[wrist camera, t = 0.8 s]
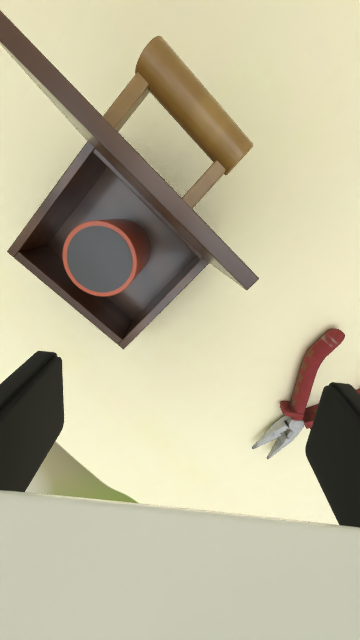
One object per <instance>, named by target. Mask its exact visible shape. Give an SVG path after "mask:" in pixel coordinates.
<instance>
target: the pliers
mask: <svg viewBox="0 0 360 640" xmlns="http://www.w3.org/2000/svg"><path fill="white" fill-rule="evenodd" d="M344 338H345V334H344V333H343V332H342V331H341V330H339V329H331V330H329V331H327V332H326V333H325V334H324V335H323V336H322V337H321V338H320V339H319V340H318V341H317V342H316V343H315V344H314V345H313V346H311V347H310V349H309V350H308V352H307V353H306V355H305V357H304V360H303V362H302V365H301V368H300V371H299V375H298V378H297V382H296V385H295V389H294V392H293V396H292V400H291V402H289V401H282V402H281V404H280V408H281V410H282V412H283V414H284V415H285V416H283V417H282V418H281V419H279V420H278V421H277V422H275V423H274V424H273V425H272V426H271V427H270V428H269V429H268V430H267V431H266V432H265V434H264V435H263V436H262V437H261V438H260V439H259V440H258V441H257V442H256V443H255V444H254V445H253V447H252V449H255V448H257V447H259V446H261V445H263V444H266V443H268V442H270V441H272V440H274V439H276V438H277V437H278V439H277V441H276V442H275V444H274V446H273V447H272V449H271V451H270V453H269V454H268V456H267V459H269V458H271V457H272V456H273V455H274V454H276V453H277V452H278V451H280V450H281V449H282V448H284V447H285V446H286V445H288V444H289V443H290V442H291V441H292V440H293V439H294V438H295V437H296V436H297V435H298V434H299V432H300V431H301V430H302V428H303V427H304V425H305V427H306V428H307V429H308V428H310V429H311V428H312V424H313V421H314V418H315V415H316V411H317V408H318V405H319V404H318V405H316V406H313V407H310V408H307V409H306V405H307V402H308V399H309V396H310V392H311V389H312V386H313V383H314V379H315V376H316V373H317V370H318V368H319V366H320V364H321V363H322V361H323V360H324V359H325V357H326V356H327V355H329V354H330V353H331V352H332V351H333V350H334V349H335V348H336V347H337V346H338V345H339V344H340V343H341V342H342V341H343V340H344ZM357 392H358V393H359V394H360V389H359V390H357ZM287 429H289V430H287ZM285 430H286V431H285Z"/></svg>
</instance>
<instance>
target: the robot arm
mask: <svg viewBox="0 0 360 640" xmlns="http://www.w3.org/2000/svg"><path fill="white" fill-rule="evenodd" d="M63 424H64V404H63V377H62V359H61V358H60V357H57V354H56V353H54V352H45V351H37V352H36V353H35V354H34V355H33V356H31V357H30V358H29V359H28V360H27V361H26V362H25V363H24V364H22V365H21V366H20V367H19V368H18V369H17V370H16V371H15V372H13V373H12V374H11V375H10V376H9V377H8V378H7V379H6V380H4V381H3V382H2V383H1V384H0V640H360V394H359V393H358V392H357V391H356V390H355V389H354V388H353V387H352V386H351V385H350V384H343V383H334V382H332V383H330V384H329V386H325V387H324V389H323V392H322V395H321V398H320V402H319V405H318V408H317V411H316V415H315V418H314V421H313V424H312V428H311V431H310V434H309V437H308V441H307V444H306V456H307V459H308V461H309V463H310V465H311V467H312V469H313V471H314V473H315V475H316V477H317V479H318V481H319V484H320V486H321V488H322V490H323V492H324V494H325V496H326V498H327V500H328V502H329V504H330V506H331V509H332V511H333V513H334V515H335V517H336V519H337V521H338V523H339V525H333V524H324V523H315V522H306V521H297V520H288V519H280V518H271V517H262V516H252V515H243V514H234V513H224V512H215V511H206V510H196V509H187V508H177V507H168V506H158V505H149V504H139V503H129V502H119V501H108V500H99V499H89V498H79V497H68V496H59V495H48V494H37V493H27V492H25V490H26V489H27V487H28V486H29V484H30V482H31V481H32V479H33V477H34V476H35V474H36V472H37V471H38V469H39V467H40V465H41V464H42V462H43V460H44V459H45V457H46V456H47V454H48V452H49V451H50V449H51V447H52V446H53V444H54V442H55V441H56V439H57V437H58V436H59V434H60V432H61V430H62V428H63Z"/></svg>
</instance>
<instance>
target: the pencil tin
mask: <svg viewBox="0 0 360 640" xmlns="http://www.w3.org/2000/svg"><path fill="white" fill-rule="evenodd" d="M150 252H151V248H150V242H149V239H148V236H147V234H146V233H145V231H144V230H143V229H142V228H141V227H140V226H139V225H137V224H136V223H134V222H132V221H130V220H126V219H111V220H97V221H88V222H85V223H82V224H80V225H79V226H77V227H76V228H74V229H73V230H72V231H71V232H70V234H69V235H68V237H67V239H66V240H65V243H64V247H63V263H64V267H65V270H66V272H67V274H68V276H69V277H70V279H71V280H72V281H73V283H74V284H75V285H76V286H77V287H79V288H80V289H81V290H83V291H85V292H87V293H89V294H92V295H95V296H103V297H104V296H112V295H115V294H118V293H120V292H122V291H123V290H125V289H126V288H127V287H128V286H129V285H130V284H131V282H132V281H133V280H134V279H135V278H136V277H137V275H138V274H139V273H140V272H141V271H142V270H143V268H144V267H145V266H146V264H147V263H148V261H149V258H150Z"/></svg>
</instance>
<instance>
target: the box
mask: <svg viewBox="0 0 360 640" xmlns="http://www.w3.org/2000/svg"><path fill="white" fill-rule="evenodd" d="M111 219H126V220H130V221H132V222H134V223H136V224H137V225H139V226H140V227H141V228H142V229H143V230H144V231H145V233H146V234H147V236H148V239H149V242H150V248H151V252H150V258H149V261H148V263H147V264H146V266H145V267H144V268H143V270H142V271H141V272H140V273H139V274H138V275H137V277H136V278H135V279H134V280H133V281H132V282H131V284H130V285H129V286H128V287H127V288H126V289H125V290H123V291H122V292H120V293H118V294H115V295H112V296H104V297H103V296H95V295H92V294H89V293H87V292H85V291H83V290H81V289H80V288H79V287H77V286H76V285H75V284H74V283H73V281H72V280H71V279H70V277H69V276H68V274H67V272H66V270H65V267H64V263H63V247H64V243H65V240H66V239H67V237H68V235H69V234H70V232H71V231H72V230H73V229H74V228H76V227H77V226H79V225H80V224H82V223H85V222H88V221H97V220H111ZM7 252H8V253H9V254H10V255H11V256H13V257H14V258H15V259H16V260H17V261H19V262H20V263H21V264H22V265H23V266H25V267H26V268H27V269H28V270H29V271H31V272H32V273H33V274H34V275H35V276H37V277H38V278H39V279H40V280H41V281H43V282H44V283H45V284H46V285H47V286H49V287H50V288H51V289H52V290H53V291H54V292H56V293H57V294H58V295H59V296H60V297H62V298H63V299H64V300H65V301H66V302H68V303H69V304H70V305H71V306H72V307H74V308H75V309H76V310H77V311H78V312H80V313H81V314H82V315H83V316H84V317H86V318H87V319H88V320H89V321H90V322H92V323H93V324H94V325H95V326H96V327H98V328H99V329H100V330H101V331H102V332H103V333H105V334H106V335H107V336H108V337H109V338H111V339H112V340H113V341H114V342H115V343H117V344H118V345H119V346H120V347H121V348H122V349H124V348H125V347H126V346H127V345H128V344H129V343H130V342H131V341H132V340H133V339H134V338H135V337H136V336H137V335H138V334H139V333H140V332H141V331H142V330H143V329H144V328H145V327H146V326H147V325H148V324H149V323H150V322H151V321H152V320H153V319H154V318H155V317H156V316H157V315H158V314H159V313H160V312H161V311H162V310H163V309H164V308H165V307H166V306H167V305H168V304H169V303H170V302H171V301H172V300H173V299H174V298H175V297H176V296H177V295H178V294H179V293H180V292H181V291H182V290H183V289H184V288H185V287H186V286H187V285H188V284H189V283H190V282H191V281H192V280H193V279H194V278H195V277H196V276H197V275H198V274H199V273H200V272H201V271H202V270H203V269H204V268H205V267H206V266H207V265H208V264H209V262H208V261H207V260H206V259H205V258H204V257H203V256H202V255H201V254H200V253H199V252H198V251H197V250H196V249H195V248H194V247H193V246H192V245H191V244H190V243H189V242H188V241H187V240H186V239H185V238H184V237H183V236H182V235H181V234H180V233H179V232H178V231H177V230H176V229H175V228H174V227H173V226H172V225H171V224H170V223H169V222H168V221H167V220H166V219H165V218H164V217H163V216H162V215H161V214H160V213H159V212H158V211H157V210H156V209H155V208H154V207H153V206H152V205H151V204H150V203H149V202H148V201H147V200H146V199H145V198H144V197H143V196H142V195H141V194H140V193H139V192H138V191H137V190H136V189H135V188H134V187H133V186H132V185H131V184H130V183H129V182H128V181H127V180H126V179H125V178H124V177H123V176H122V175H121V174H120V173H119V172H118V171H117V170H116V169H115V168H114V167H113V166H112V165H111V164H110V163H109V162H108V161H107V160H106V159H105V158H104V157H103V156H102V155H101V154H100V153H99V152H98V151H97V150H96V149H95V148H94V147H93V146H92V145H91V144H90V143H89V142H88V141H87V143H86V144H85V145H84V147H83V148H82V150H81V151H80V152H79V154H78V155H77V156H76V158H75V159H74V161H73V162H72V163H71V165H70V166H69V167H68V169H67V170H66V172H65V173H64V174H63V176H62V177H61V178H60V180H59V181H58V182H57V184H56V185H55V187H54V188H53V189H52V191H51V192H50V193H49V195H48V196H47V198H46V199H45V200H44V202H43V203H42V204H41V206H40V207H39V209H38V210H37V211H36V213H35V214H34V215H33V217H32V218H31V219H30V221H29V222H28V224H27V225H26V226H25V228H24V229H23V230H22V232H21V233H20V235H19V236H18V237H17V239H16V240H15V241H14V243H13V244H12V246H11V247H10V248H9V250H8V251H7Z"/></svg>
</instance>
